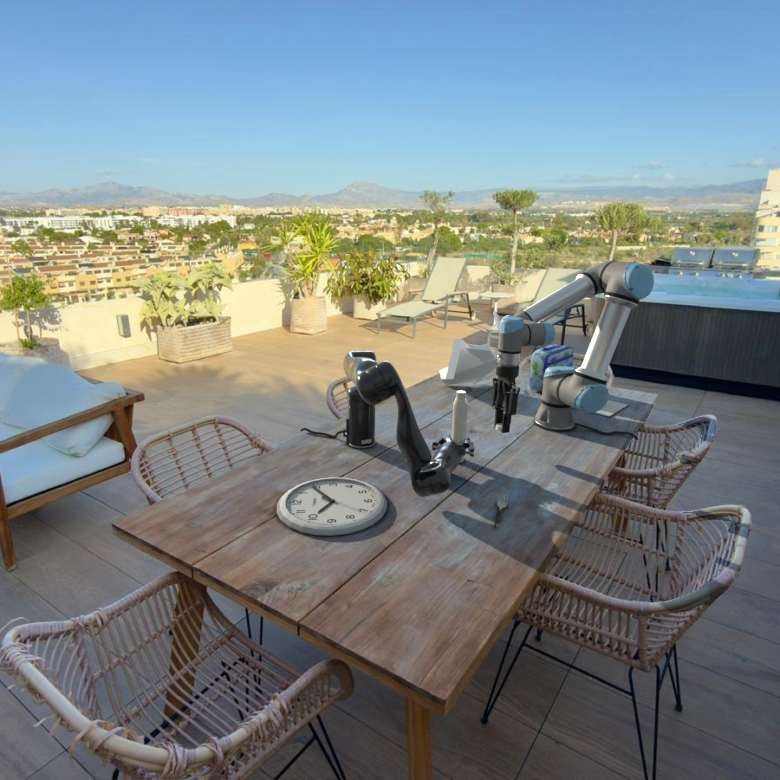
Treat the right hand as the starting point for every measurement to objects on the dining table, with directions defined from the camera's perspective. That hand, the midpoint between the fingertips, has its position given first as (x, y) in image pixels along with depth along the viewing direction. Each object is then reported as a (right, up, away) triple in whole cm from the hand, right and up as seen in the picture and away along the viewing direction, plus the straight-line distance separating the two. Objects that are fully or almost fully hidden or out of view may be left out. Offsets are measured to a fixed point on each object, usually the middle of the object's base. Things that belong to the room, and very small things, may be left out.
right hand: (501, 429), depth 180 cm
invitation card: (+53, +6, +46) cm, 70 cm away
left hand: (-15, -2, -8) cm, 17 cm away
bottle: (-16, -9, -8) cm, 21 cm away
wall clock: (-54, -18, -38) cm, 68 cm away
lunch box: (+38, +14, +70) cm, 80 cm away
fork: (-9, -20, -40) cm, 46 cm away
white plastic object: (+3, +13, +63) cm, 64 cm away
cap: (0, +1, 0) cm, 1 cm away
